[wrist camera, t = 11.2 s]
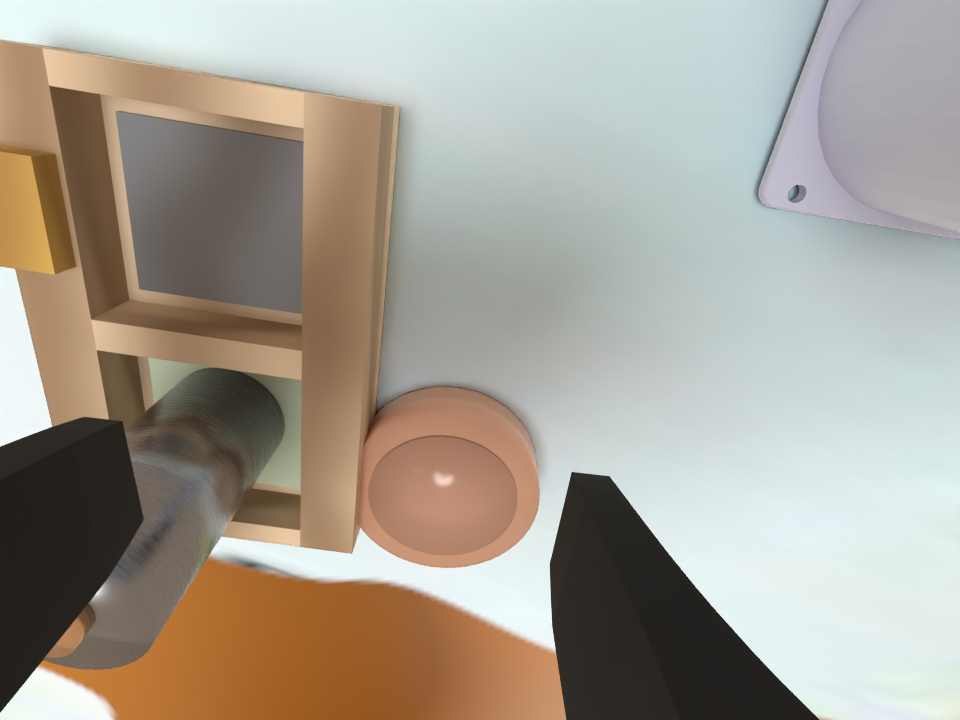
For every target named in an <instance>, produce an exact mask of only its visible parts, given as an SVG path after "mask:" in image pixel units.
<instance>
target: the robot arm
mask: <svg viewBox="0 0 960 720" xmlns="http://www.w3.org/2000/svg"><path fill="white" fill-rule="evenodd" d="M795 185H798V187H799V194H798V195H797V197H796V198H795V199H793V200H792V201H789V199H788V192H789V191H790V189H791V188H792V187H794V186H795ZM758 195H759V200H760V201H761V202H762V203H763V204H764V205H767V206H769V207H772V208H776V209H782V210H788V211H794V212H800V213H806V214H812V215H818V216H824V217H830V218H836V219H842V220H847V221H853V222H859V223H865V224H871V225H877V226H883V227H889V228H895V229H901V230H907V231H913V232H919V233H925V234H931V235H937V236H943V237H948V238H954V239H960V0H829V1H828V3H827V6H826V9H825V11H824V14H823V17H822V19H821V22H820V25H819V28H818V30H817V33H816V36H815V38H814V41H813V44H812V46H811V49H810V52H809V54H808V57H807V60H806V63H805V65H804V68H803V71H802V73H801V76H800V79H799V81H798V84H797V87H796V89H795V92H794V95H793V98H792V100H791V103H790V106H789V108H788V111H787V114H786V116H785V119H784V122H783V124H782V127H781V130H780V133H779V135H778V138H777V141H776V143H775V146H774V149H773V151H772V154H771V157H770V159H769V162H768V165H767V167H766V170H765V173H764V176H763V178H762V181H761V184H760V186H759V191H758ZM143 520H144V517H143V513H142V508H141V504H140V499H139V494H138V490H137V485H136V481H135V476H134V472H133V467H132V462H131V458H130V453H129V449H128V444H127V439H126V435H125V430H124V426H123V421H117V420H109V419H100V418H91V417H81V418H78V419H75V420H72V421H69V422H65V423H62V424H60V425H57V426H54V427H51V428H48V429H46V430H43V431H40V432H37V433H35V434H32V435H29V436H27V437H24V438H22V439H19V440H16V441H14V442H11V443H9V444H6V445H4V446H1V447H0V712H1V711H2V710H3V709H4V707H5V706H6V705H7V704H8V702H9V701H10V700H11V699H12V698H13V696H14V695H15V694H16V693H17V691H18V690H19V689H20V688H21V686H22V685H23V684H24V683H25V681H26V680H27V679H28V678H29V677H30V675H31V674H32V673H33V672H34V670H35V669H36V668H37V667H38V665H39V664H40V663H41V662H42V660H43V659H44V658H45V657H46V656H47V654H48V653H49V652H50V651H51V649H52V648H53V647H54V646H55V644H56V643H57V642H58V641H59V639H60V638H61V637H62V636H63V635H64V633H65V632H66V631H67V630H68V628H69V627H70V626H71V625H72V623H73V622H74V621H75V620H76V618H77V617H78V616H79V615H80V613H81V612H82V611H83V609H84V608H85V607H86V606H87V604H88V603H89V602H90V601H91V599H92V598H93V597H94V596H95V594H96V593H97V592H98V590H99V589H100V588H101V587H102V585H103V584H104V583H105V581H106V580H107V579H108V577H109V576H110V574H111V573H112V571H113V570H114V568H115V566H116V565H117V563H118V562H119V560H120V559H121V557H122V556H123V554H124V552H125V551H126V549H127V548H128V546H129V544H130V542H131V541H132V539H133V537H134V536H135V534H136V532H137V531H138V529H139V527H140V526H141V524H142V522H143ZM550 583H551V607H552V627H553V634H554V641H555V647H556V654H557V661H558V667H559V673H560V681H561V687H562V694H563V700H564V707H565V712H566V719H567V720H819V719H818V718H817V717H816V716H815V715H814V714H813V713H812V712H811V711H810V710H809V709H808V708H807V707H806V706H805V705H804V704H803V703H802V702H801V701H800V700H799V699H798V698H797V697H796V696H795V695H794V694H793V693H792V692H791V691H790V690H789V689H788V688H787V687H786V686H785V685H784V684H783V683H782V682H781V681H780V680H779V679H778V678H777V677H776V676H775V675H774V674H773V673H772V672H771V671H770V670H769V669H768V667H767V666H766V665H765V664H764V663H763V662H762V661H761V660H760V659H759V658H758V657H757V656H756V655H755V654H754V653H753V652H752V650H751V649H750V648H749V647H748V646H747V645H746V644H745V643H744V642H743V640H742V639H741V638H740V637H739V636H738V635H737V634H736V633H735V632H734V630H733V629H732V628H731V627H730V626H729V625H728V624H727V623H726V622H725V620H724V619H723V618H722V617H721V616H720V615H719V614H718V613H717V612H716V610H715V609H714V608H713V607H712V606H711V605H710V603H709V602H708V601H707V600H706V599H705V598H704V596H703V595H702V594H701V593H700V592H699V591H698V589H697V588H696V587H695V586H694V585H693V583H692V582H691V581H690V580H689V578H688V577H687V576H686V575H685V573H684V572H683V571H682V570H681V569H680V567H679V566H678V565H677V564H676V562H675V561H674V560H673V559H672V558H671V556H670V555H669V554H668V552H667V551H666V550H665V549H664V547H663V546H662V545H661V544H660V542H659V541H658V540H657V538H656V537H655V536H654V534H653V533H652V532H651V531H650V529H649V528H648V527H647V525H646V524H645V523H644V521H643V520H642V519H641V517H640V516H639V515H638V513H637V512H636V511H635V510H634V508H633V507H632V506H631V504H630V503H629V502H628V500H627V499H626V498H625V496H624V495H623V494H622V492H621V491H620V490H619V488H618V487H617V486H616V484H615V483H614V482H613V481H612V479H611V478H610V477H609V476H602V475H593V474H584V473H575V472H572V474H571V478H570V482H569V486H568V490H567V495H566V499H565V503H564V507H563V511H562V515H561V520H560V524H559V528H558V532H557V536H556V541H555V545H554V549H553V553H552V557H551V561H550Z"/></svg>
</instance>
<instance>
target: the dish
mask: <svg viewBox="0 0 960 720" xmlns="http://www.w3.org/2000/svg"><path fill="white" fill-rule="evenodd" d="M538 505H539V483H538V475H537V467H536V458H535V452H534V447H533V444H532V441H531V438H530V436H529V434H528V432H527V430H526V428H525V427H524V425H523V424H522V423H521V421H520V420H519V419H518V418H517V417H516V416H515V415H514V414H513V412H511V411H510V410H509V409H508V408H506V407H505V406H504V405H502V404H501V403H499V402H498V401H496V400H494V399H492V398H490V397H488V396H486V395H484V394H481V393H478V392H475V391H472V390H468V389H463V388H456V387H431V388H424V389H420V390H416V391H412V392H409V393H407V394H405V395H402V396H400V397H398V398H396V399H395V400H393V401H391V402H390V403H388V404H387V405H386V406H384V407H383V408H382V409H381V410H380V411H379V412H378V413H377V414H376V415H375V417H374V420H373V422H372V425H371V428H370V430H369V433H368V435H367V438H366V441H365V443H364V447H363V461H362V475H361V490H360V504H359V518H358V524H359V526H360V527H361V528H362V530H363V531H364V532H365V533H366V534H367V535H368V536H369V538H370V539H372V540H373V541H374V542H375V543H376V544H378V545H379V546H380V547H382V548H383V549H385V550H386V551H388V552H389V553H391V554H393V555H395V556H397V557H399V558H402V559H404V560H407V561H409V562H413V563H417V564H420V565H425V566H431V567H442V568H456V567H465V566H470V565H475V564H479V563H482V562H485V561H488V560H491V559H493V558H495V557H497V556H499V555H501V554H503V553H504V552H506V551H508V550H509V549H510V548H512V547H513V546H514V545H516V544H517V543H518V542H519V541H520V540H521V539H522V538H523V537H524V535H525V534H526V533H527V531H528V530H529V529H530V527H531V525H532V523H533V521H534V519H535V516H536V514H537V511H538Z"/></svg>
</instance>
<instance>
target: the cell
mask: <svg viewBox="0 0 960 720" xmlns="http://www.w3.org/2000/svg"><path fill="white" fill-rule="evenodd" d="M284 430H285V421H284V416H283V412H282V410H281V407H280V405H279V403H278V402H277V400H276V399H275V397H274V396H273V395H272V393H271V392H270V391H269V390H268V389H267V388H266V387H265V386H264V385H262V384H261V383H260V382H258V381H257V380H255V379H254V378H252V377H250V376H248V375H246V374H244V373H242V372H239V371H236V370H229V369H222V368H214V367H212V368H204V369H200V370H197V371H195V372H192V373H191V374H189V375H187V376H186V377H185V378H183V379H182V380H181V381H180V382H179V383H178V384H177V385H175V386H174V387H173V388H172V389H171V390H170V391H169V392H167V393H166V394H165V395H164V396H163V397H162V398H161V399H159V400H158V401H157V402H156V403H155V404H154V405H152V406H151V407H150V408H149V409H148V410H147V411H146V412H144V413H143V414H142V415H141V416H140V417H139V418H138V419H136V420H135V421H134V422H133V423H132V424H131V425H130V426H128V427H127V428H126V429H125V435H126V439H127V444H128V449H129V453H130V458H131V462H132V467H133V472H134V476H135V481H136V485H137V490H138V494H139V499H140V504H141V508H142V513H143V517H144V520H143V522H142V524H141V526H140V527H139V529H138V531H137V532H136V534H135V536H134V537H133V539H132V541H131V542H130V544H129V546H128V548H127V549H126V551H125V552H124V554H123V556H122V557H121V559H120V560H119V562H118V563H117V565H116V566H115V568H114V570H113V571H112V573H111V574H110V576H109V577H108V579H107V580H106V581H105V583H104V584H103V585H102V587H101V588H100V589H99V590H98V592H97V593H96V594H95V596H94V597H93V598H92V599H91V601H90V602H89V603H88V604H87V606H86V607H85V608H84V609H83V611H82V612H81V613H80V615H79V616H78V617H77V618H76V620H75V621H74V622H73V623H72V625H71V626H70V627H69V628H68V630H67V631H66V632H65V633H64V635H63V636H62V637H61V638H60V639H59V641H58V642H57V643H56V644H55V646H54V647H53V648H52V649H51V651H50V652H49V653H48V654H47V656H46V657H45V658H44V659H43V660H45V661H48V662H51V663H54V664H58V665H62V666H67V667H72V668H79V669H94V670H99V669H111V668H116V667H120V666H124V665H127V664H130V663H132V662H134V661H136V660H137V659H139V658H141V657H142V656H143V655H144V654H145V653H146V652H147V651H148V650H149V648H150V647H151V646H152V644H153V643H154V641H155V639H156V638H157V636H158V635H159V633H160V632H161V630H162V628H163V627H164V625H165V624H166V622H167V621H168V619H169V617H170V616H171V614H172V613H173V611H174V610H175V608H176V606H177V605H178V603H179V602H180V600H181V599H182V597H183V595H184V594H185V592H186V591H187V589H188V588H189V586H190V584H191V583H192V581H193V580H194V578H195V577H196V575H197V573H198V572H199V570H200V569H201V567H202V565H203V564H204V562H205V561H206V559H207V558H208V556H209V555H210V553H211V551H212V550H213V548H214V547H215V545H216V544H217V542H218V540H219V539H220V537H221V536H222V534H223V533H224V531H225V529H226V528H227V526H228V525H229V523H230V522H231V520H232V518H233V517H234V515H235V514H236V512H237V511H238V509H239V507H240V506H241V504H242V503H243V501H244V500H245V498H246V496H247V495H248V493H249V492H250V490H251V489H252V487H253V485H254V484H255V482H256V481H257V479H258V478H259V476H260V474H261V473H262V471H263V470H264V468H265V467H266V465H267V463H268V462H269V460H270V459H271V457H272V456H273V454H274V452H275V451H276V449H277V448H278V446H279V445H280V443H281V441H282V439H283V435H284Z"/></svg>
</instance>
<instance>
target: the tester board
mask: <svg viewBox="0 0 960 720" xmlns="http://www.w3.org/2000/svg"><path fill="white" fill-rule="evenodd" d="M399 115H400V106H394V105H388V104H382V103H376V102H370V101H365V100H359V99H353V98H347V97H341V96H335V95H330V94H324V93H318V92H312V91H306V90H301V89H295V88H289V87H283V86H277V85H271V84H266V83H260V82H254V81H248V80H242V79H236V78H231V77H225V76H219V75H213V74H207V73H202V72H196V71H190V70H184V69H178V68H172V67H167V66H161V65H155V64H149V63H143V62H137V61H132V60H126V59H120V58H114V57H108V56H103V55H97V54H91V53H85V52H79V51H73V50H68V49H62V48H56V47H50V46H43V45H36V44H29V43H21V42H14V41H7V40H0V266H1V267H8V268H14V269H15V270H16V274H17V278H18V283H19V287H20V291H21V295H22V300H23V304H24V308H25V312H26V316H27V321H28V325H29V329H30V333H31V338H32V342H33V346H34V350H35V354H36V359H37V363H38V367H39V371H40V376H41V380H42V384H43V388H44V393H45V397H46V401H47V405H48V409H49V414H50V418H51V422H52V426H53V427H54V426H57V425H60V424H62V423H65V422H69V421H72V420H75V419H78V418H81V417H91V418H100V419H109V420H117V421H123V426H124V430H125V429H126V428H127V427H128V426H130V425H131V424H132V423H133V422H134V421H135V420H136V419H138V418H139V417H140V416H141V415H142V414H143V413H144V412H146V411H147V410H148V409H149V408H150V407H151V406H152V405H154V404H155V403H156V402H157V401H158V400H159V399H161V398H162V397H163V396H164V395H165V394H166V393H167V392H169V391H170V390H171V389H172V388H173V387H174V386H175V385H177V384H178V383H179V382H180V381H181V380H182V379H183V378H185V377H186V376H187V375H189V374H191V373H192V372H195V371H197V370H200V369H204V368H212V367H214V368H222V369H229V370H236V371H239V372H242V373H244V374H246V375H248V376H250V377H252V378H254V379H255V380H257V381H258V382H260V383H261V384H262V385H264V386H265V387H266V388H267V389H268V390H269V391H270V392H271V393H272V395H273V396H274V397H275V399H276V400H277V402H278V403H279V405H280V407H281V410H282V412H283V416H284V421H285V430H284V435H283V439H282V441H281V443H280V445H279V446H278V448H277V449H276V451H275V452H274V454H273V456H272V457H271V459H270V460H269V462H268V463H267V465H266V467H265V468H264V470H263V471H262V473H261V474H260V476H259V478H258V479H257V481H256V482H255V484H254V485H253V487H252V489H251V490H250V492H249V493H248V495H247V496H246V498H245V500H244V501H243V503H242V504H241V506H240V507H239V509H238V511H237V512H236V514H235V515H234V517H233V518H232V520H231V522H230V523H229V525H228V526H227V528H226V529H225V531H224V533H223V534H222V537H230V538H237V539H245V540H252V541H260V542H267V543H275V544H283V545H290V546H298V547H305V548H313V549H321V550H328V551H336V552H343V553H351V554H352V552H353V549H354V546H355V543H356V539H357V536H358V533H359V530H360V526H359V524H358V518H359V504H360V490H361V475H362V461H363V447H364V443H365V441H366V438H367V435H368V433H369V430H370V428H371V425H372V422H373V420H374V417H375V413H376V401H377V388H378V376H379V363H380V351H381V339H382V326H383V314H384V301H385V289H386V276H387V264H388V251H389V239H390V227H391V214H392V202H393V189H394V177H395V164H396V152H397V140H398V127H399Z"/></svg>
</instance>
